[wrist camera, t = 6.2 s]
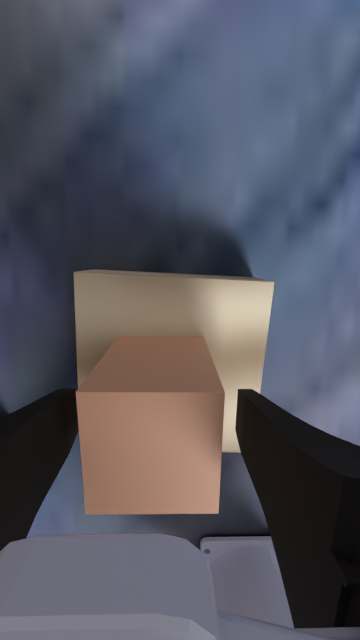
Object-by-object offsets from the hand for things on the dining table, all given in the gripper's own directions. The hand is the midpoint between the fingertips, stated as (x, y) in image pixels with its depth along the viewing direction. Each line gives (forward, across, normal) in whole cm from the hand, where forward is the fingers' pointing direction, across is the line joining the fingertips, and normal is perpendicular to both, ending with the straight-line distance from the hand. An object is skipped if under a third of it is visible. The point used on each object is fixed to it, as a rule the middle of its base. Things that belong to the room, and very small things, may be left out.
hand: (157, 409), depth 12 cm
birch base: (+7, -1, -1) cm, 7 cm away
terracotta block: (+3, 0, 0) cm, 3 cm away
